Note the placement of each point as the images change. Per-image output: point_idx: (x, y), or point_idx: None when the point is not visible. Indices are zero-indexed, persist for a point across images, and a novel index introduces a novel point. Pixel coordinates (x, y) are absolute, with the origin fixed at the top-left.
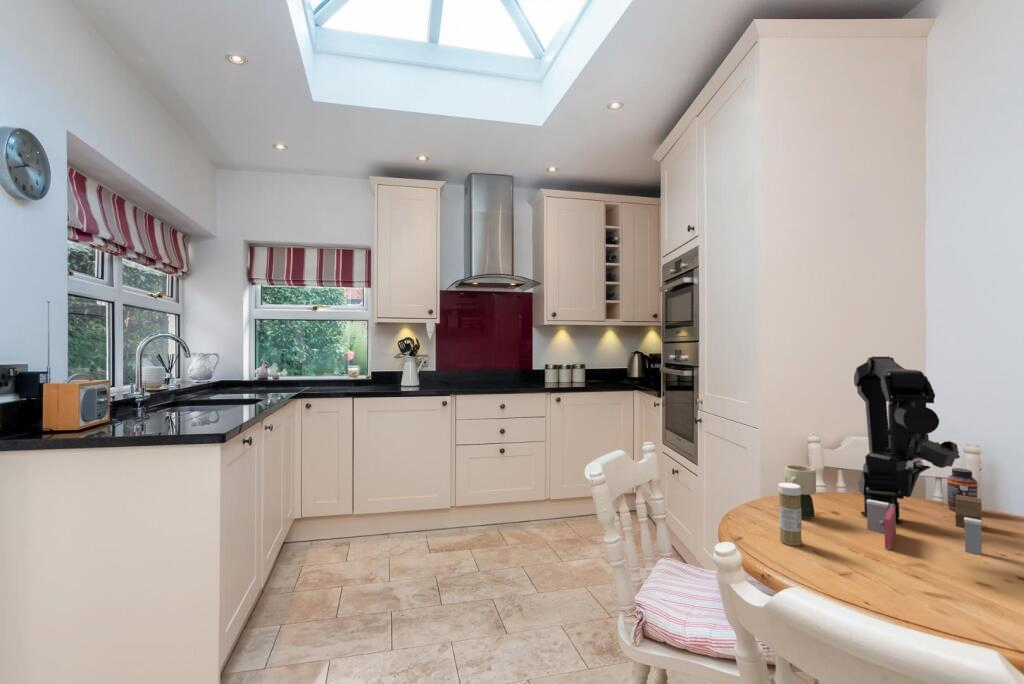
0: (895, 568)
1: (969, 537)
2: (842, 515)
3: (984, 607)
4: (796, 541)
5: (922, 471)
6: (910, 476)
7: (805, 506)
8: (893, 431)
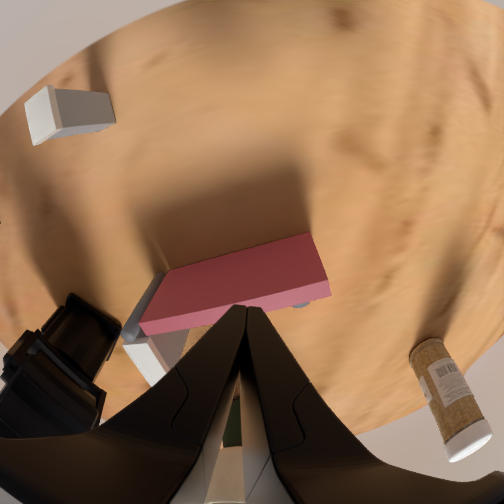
0: (425, 178)
1: (89, 114)
2: None
3: (458, 23)
4: (442, 344)
5: (71, 447)
6: (316, 449)
7: None
8: None
